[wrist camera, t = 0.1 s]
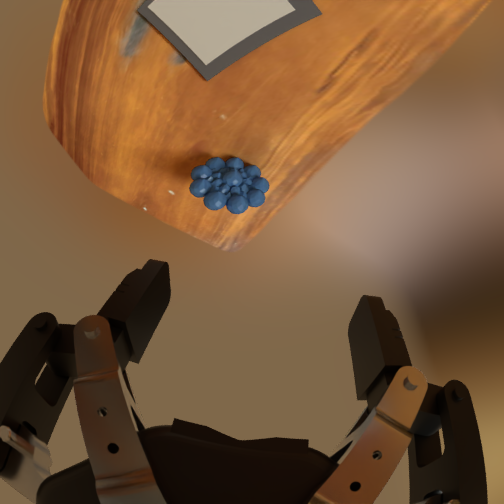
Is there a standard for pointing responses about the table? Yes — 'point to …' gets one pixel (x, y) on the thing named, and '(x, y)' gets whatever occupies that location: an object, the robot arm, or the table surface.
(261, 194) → the grapes
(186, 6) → the clipboard
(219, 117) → the table surface
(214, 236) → the table surface
